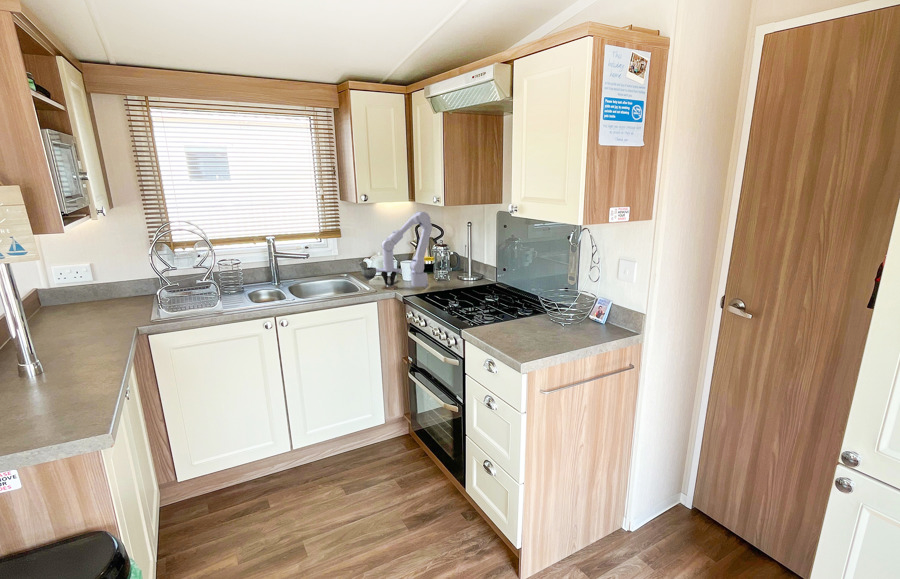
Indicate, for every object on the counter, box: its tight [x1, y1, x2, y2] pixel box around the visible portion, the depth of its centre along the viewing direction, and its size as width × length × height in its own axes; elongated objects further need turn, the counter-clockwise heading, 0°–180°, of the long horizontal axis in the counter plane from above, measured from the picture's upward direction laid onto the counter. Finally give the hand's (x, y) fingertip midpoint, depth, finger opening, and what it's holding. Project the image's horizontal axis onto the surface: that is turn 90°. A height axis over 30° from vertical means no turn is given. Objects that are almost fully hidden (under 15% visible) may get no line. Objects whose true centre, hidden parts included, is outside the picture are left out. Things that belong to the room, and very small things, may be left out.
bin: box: [368, 275, 398, 286], centre depth 268 cm, size 13×13×4 cm
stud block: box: [381, 284, 398, 291], centre depth 253 cm, size 10×10×2 cm
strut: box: [386, 275, 393, 288], centre depth 252 cm, size 4×4×7 cm
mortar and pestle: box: [358, 260, 378, 281], centre depth 282 cm, size 11×9×12 cm
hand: (389, 284), depth 252 cm, fingers closed on strut, 3 cm apart
